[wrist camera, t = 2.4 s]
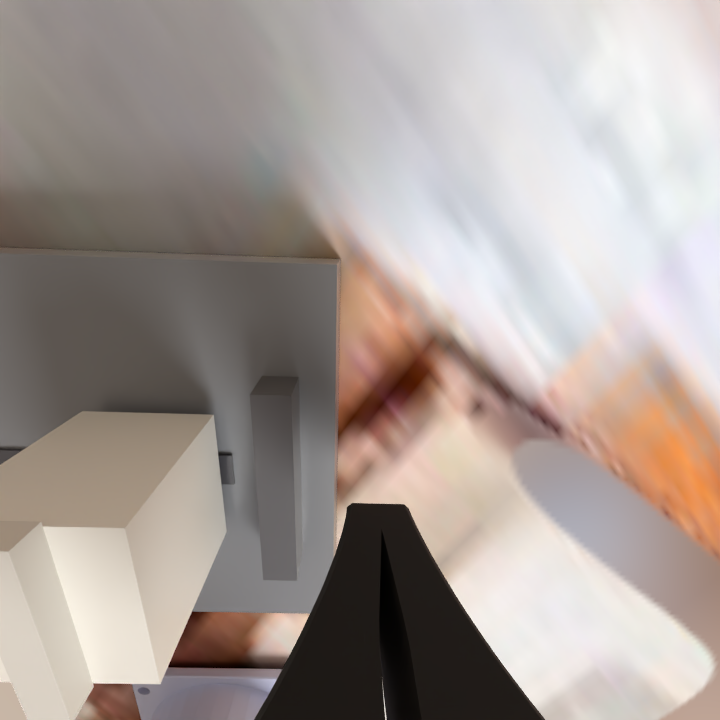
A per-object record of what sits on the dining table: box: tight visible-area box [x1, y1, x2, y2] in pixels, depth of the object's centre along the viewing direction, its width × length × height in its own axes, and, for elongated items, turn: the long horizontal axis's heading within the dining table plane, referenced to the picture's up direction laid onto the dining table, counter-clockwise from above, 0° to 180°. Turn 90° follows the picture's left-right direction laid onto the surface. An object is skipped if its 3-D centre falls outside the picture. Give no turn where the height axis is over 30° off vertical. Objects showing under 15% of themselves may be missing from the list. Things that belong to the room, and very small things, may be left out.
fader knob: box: [0, 411, 227, 720], centre depth 8 cm, size 4×4×5 cm
